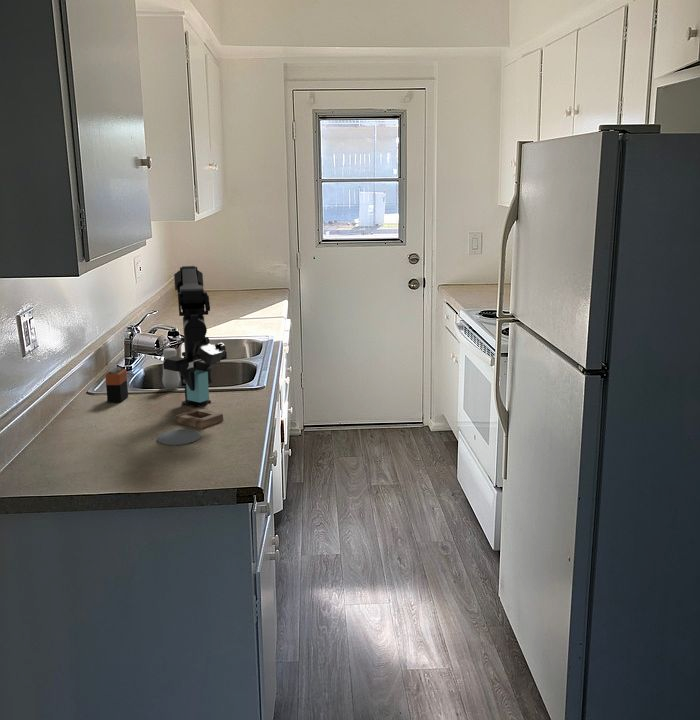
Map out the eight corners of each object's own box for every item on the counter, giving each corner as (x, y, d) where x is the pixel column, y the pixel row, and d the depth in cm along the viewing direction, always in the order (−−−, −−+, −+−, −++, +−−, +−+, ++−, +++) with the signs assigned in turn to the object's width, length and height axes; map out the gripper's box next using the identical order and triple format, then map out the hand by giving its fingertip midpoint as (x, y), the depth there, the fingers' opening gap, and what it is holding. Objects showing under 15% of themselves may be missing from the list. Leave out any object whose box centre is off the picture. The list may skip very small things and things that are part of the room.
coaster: (148, 440, 197) (148, 437, 196) (180, 428, 205) (180, 426, 205) (177, 448, 190) (177, 446, 190) (209, 436, 199) (208, 434, 199)
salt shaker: (161, 386, 248) (159, 347, 245) (179, 384, 250) (177, 346, 247) (164, 390, 243) (161, 351, 240) (182, 388, 245) (179, 349, 242)
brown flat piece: (175, 422, 211) (175, 415, 210) (198, 414, 218) (197, 408, 217) (200, 428, 205) (200, 421, 205) (223, 420, 212) (222, 413, 212)
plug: (187, 399, 210) (185, 371, 208) (196, 396, 213) (195, 369, 211) (199, 402, 207) (198, 374, 205) (209, 399, 210) (207, 371, 208)
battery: (107, 402, 230) (104, 371, 228) (115, 396, 237) (112, 365, 234) (121, 403, 230) (118, 371, 227) (128, 396, 236) (126, 365, 234)
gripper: (189, 343, 194) (192, 401, 197) (239, 331, 208) (242, 385, 212) (160, 338, 200) (164, 395, 204) (211, 327, 215) (214, 380, 218)
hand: (197, 389), depth 209 cm, fingers closed on plug, 3 cm apart
